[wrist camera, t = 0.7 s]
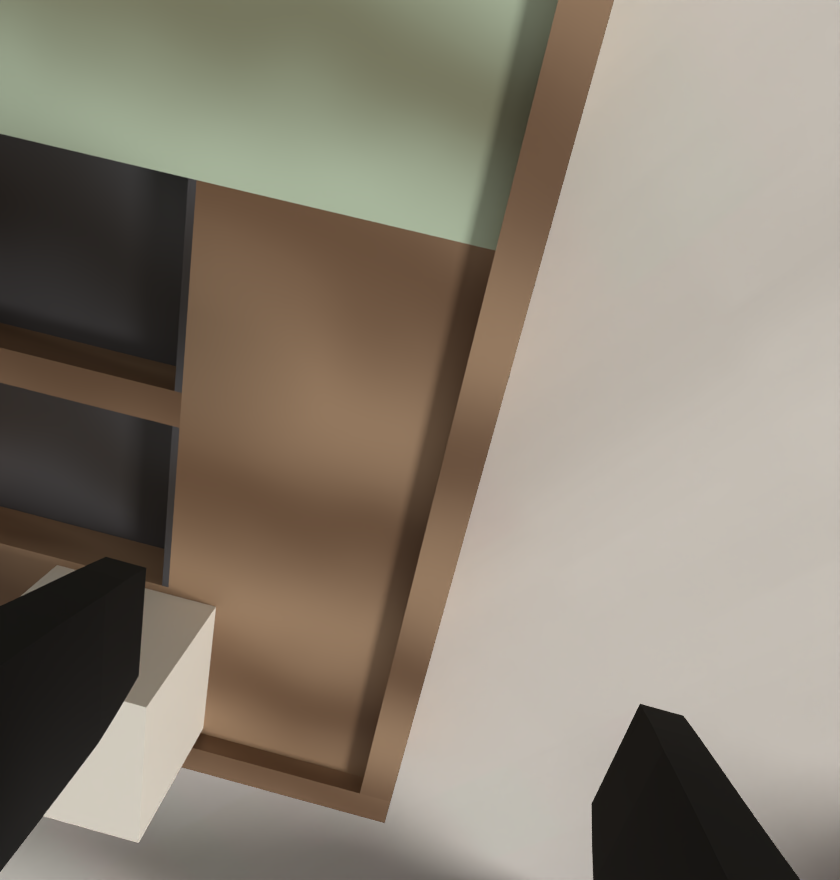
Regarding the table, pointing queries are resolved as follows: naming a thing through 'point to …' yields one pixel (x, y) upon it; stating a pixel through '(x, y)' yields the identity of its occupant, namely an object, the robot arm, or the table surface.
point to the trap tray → (275, 329)
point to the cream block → (145, 721)
